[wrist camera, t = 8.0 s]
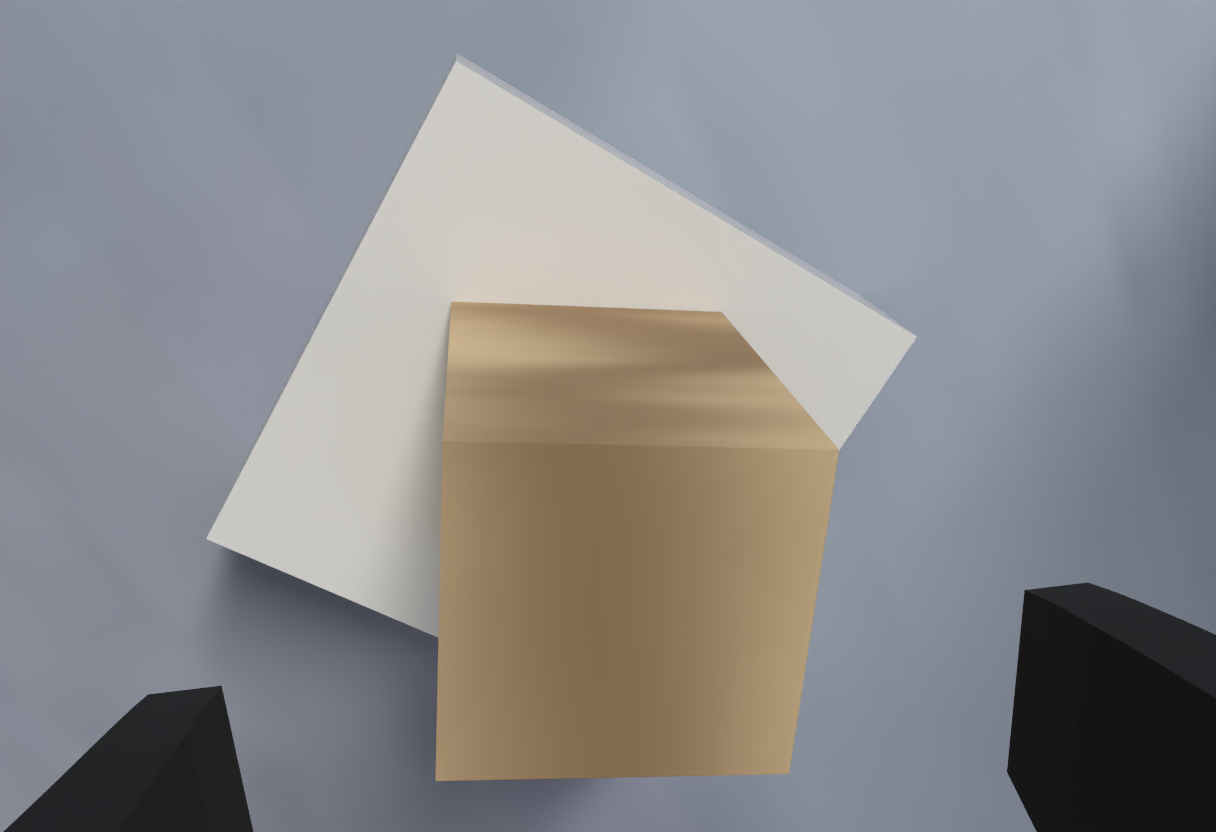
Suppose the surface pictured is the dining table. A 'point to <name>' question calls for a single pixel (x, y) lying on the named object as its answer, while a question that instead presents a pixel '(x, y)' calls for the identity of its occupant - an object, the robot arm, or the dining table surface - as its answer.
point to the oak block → (622, 547)
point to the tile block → (511, 274)
